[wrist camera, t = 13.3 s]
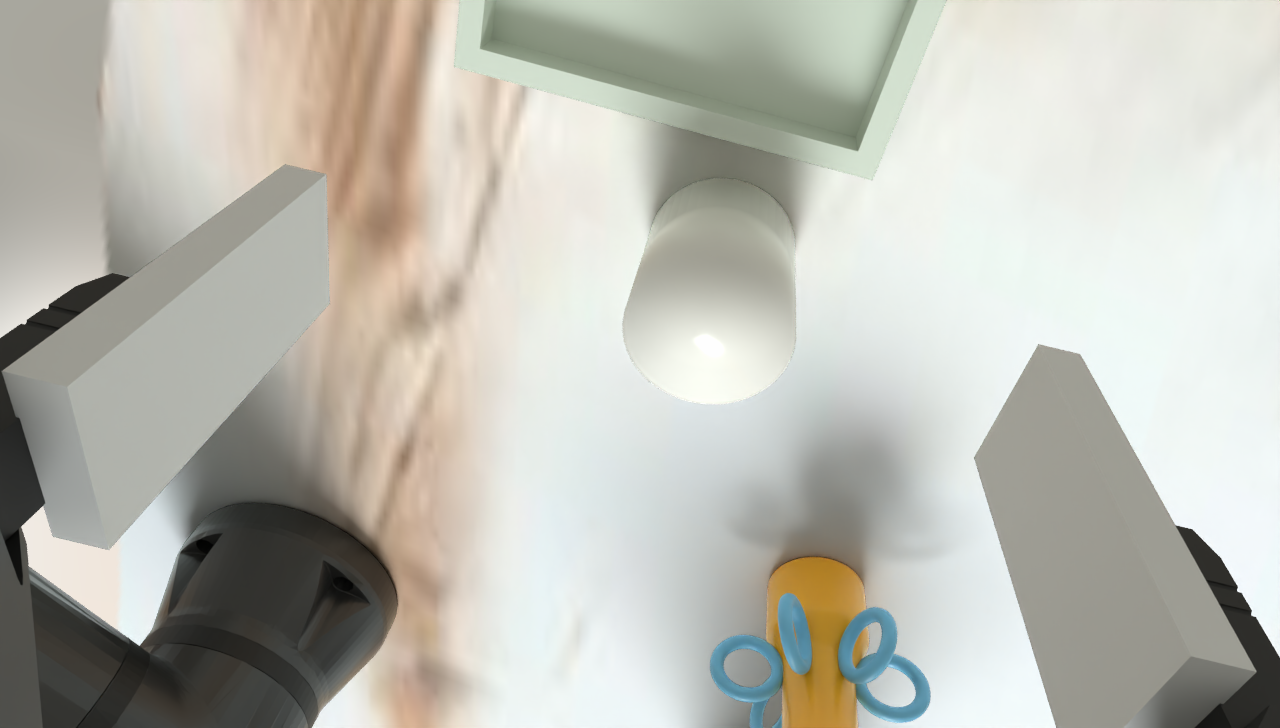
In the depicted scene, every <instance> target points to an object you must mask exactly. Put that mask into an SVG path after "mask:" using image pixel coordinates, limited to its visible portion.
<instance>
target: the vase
mask: <svg viewBox="0 0 1280 728" xmlns="http://www.w3.org/2000/svg"><path fill="white" fill-rule="evenodd" d="M873 622H878V623H880V625H881V628H882V638H881V643H880V646H879V649H878V651H877V653H874V654H870V655H868V656H866V654H867V651H868V647H869V630H868V625H869V624H871V623H873ZM896 643H897V627H896V623H895V621H894V619H893V617H892V615H891V614H890V613H889V612H888V611H886V610H884V609H882V608H878V607H873V608H868V609H866V599H865V590H864V586H863V583H862V581H861V579H860V578H859V576H858V575H857V574H856V573H855V572H854V571H853V570H852V569H851V568H849V567H848V566H847V565H845V564H842V563H841V562H839V561H835V560H832V559H829V558H823V557H804V558H799V559H795V560H792V561H789V562H787V563H785V564H783V565H782V566H780V567H779V568H778V569H777V570H776V571H775V572H774V573H773V575H772V576H771V578H770V580H769V582H768V587H767V614H766V641H765V640H763V639H761V638H758V637H755V636H751V635H737V636H733V637H730V638H728V639H726V640H724V641H722V642H721V643H720V644H719V645H718V646H717V647H716V648H715V650H714V652H713V654H712V656H711V660H710V671H711V675H712V678H713V680H714V682H715V684H716V685H717V686H718V688H719V689H720V690H721V691H722V692H724V693H725V694H726V695H728V696H729V697H731V698H733V699H735V700H738V701H742V702H753V704H752V708H751V712H750V728H763V713H764V709H765V706H766V704H767V702H768V700H769V698H770V697H772V696H773V695H774V694H776V693H777V692H778V690H779V689H780V688H781V686H782V714H781V716H780V718H779V720H778V721H777V722H776V724H775V725H774V726H773V727H772V728H858V714H857V699H858V700H859V702H860V703H861V704H862V705H863V706H864V707H865V708H866V709H867V710H868V711H869V712H870V713H872V714H873V715H875V716H877V717H879V718H881V719H883V720H886V721H890V722H896V723H903V722H909V721H913V720H915V719H917V718H919V717H920V716H921V715H922V714H923V713H924V712H925V711H926V709H927V708H928V705H929V702H930V687H929V684H928V682H927V679H926V678H925V676H924V674H923V673H922V672H921V670H920V669H919V668H918V667H917V666H916V665H914V664H913V663H912V662H910V661H909V660H907V659H906V658H904V657H901V656H899V655H896V654H894V651H895V648H896ZM738 649H751V650H754V651H757V652H759V653H760V654H762V655H763V656H764V657H765V658H766V659H767V660H768V662H769V663H770V666H771V675H770V677H769V678H768V679H767V680H766V681H765V682H764V683H763V685H761V686H758V687H752V688H749V687H743V686H740V685H737V684H735V683H734V682H732V681H731V680H730V679H729V678H728V677H727V675H726V673H725V671H724V666H723V665H724V660H725V658H726V657H727V655H728V654H730V653H731V652H733V651H735V650H738ZM865 656H866V657H865ZM886 667H891V668H894V669H897V670H899V671H901V672H903V673H904V674H905V675H907V676H908V677H909V678H910V680H911V681H912V682H913V684H914V686H915V690H916V696H915V699H914V701H913V702H912V703H911V704H909V705H907V706H904V707H891V706H888V705H885V704H883V703H881V702H879V701H878V700H877V699H875V698H874V697H873V696H872V694H871V693H870V692H869V690H868V688H867V685H866V683H869V682H871V681H873V680H874V679H876V678H877V677H878V676H879V675H880V674H881V673H882V672H883V671H884V670H885V669H886ZM856 697H857V699H856Z"/></svg>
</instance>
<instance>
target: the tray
mask: <svg viewBox="0 0 1280 728" xmlns="http://www.w3.org/2000/svg"><path fill="white" fill-rule="evenodd" d="M946 1H947V0H460V3H459V14H458V26H457V37H456V49H455V61H454V67H456V68H460V69H464V70H467V71H471V72H475V73H478V74H482V75H486V76H489V77H493V78H497V79H501V80H504V81H508V82H512V83H515V84H519V85H523V86H526V87H530V88H534V89H537V90H541V91H545V92H548V93H552V94H556V95H559V96H563V97H567V98H571V99H574V100H578V101H582V102H585V103H589V104H593V105H596V106H600V107H604V108H607V109H611V110H615V111H618V112H622V113H626V114H629V115H633V116H637V117H641V118H644V119H648V120H652V121H655V122H659V123H663V124H666V125H670V126H674V127H677V128H681V129H685V130H688V131H692V132H696V133H699V134H703V135H707V136H711V137H714V138H718V139H722V140H725V141H729V142H733V143H736V144H740V145H744V146H747V147H751V148H755V149H758V150H762V151H766V152H769V153H773V154H777V155H781V156H784V157H788V158H792V159H795V160H799V161H803V162H806V163H810V164H814V165H817V166H821V167H825V168H828V169H832V170H836V171H839V172H843V173H847V174H851V175H854V176H858V177H862V178H865V179H869V180H873V178H874V176H875V173H876V171H877V168H878V166H879V163H880V161H881V159H882V156H883V154H884V151H885V149H886V146H887V144H888V142H889V139H890V137H891V134H892V132H893V130H894V127H895V125H896V122H897V120H898V117H899V115H900V113H901V110H902V108H903V105H904V103H905V100H906V98H907V96H908V93H909V91H910V88H911V86H912V83H913V81H914V79H915V76H916V74H917V71H918V69H919V66H920V64H921V62H922V59H923V57H924V54H925V52H926V49H927V47H928V45H929V42H930V40H931V37H932V35H933V32H934V30H935V28H936V25H937V23H938V20H939V18H940V15H941V13H942V11H943V8H944V6H945V3H946Z"/></svg>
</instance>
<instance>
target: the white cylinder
mask: <svg viewBox="0 0 1280 728" xmlns="http://www.w3.org/2000/svg"><path fill="white" fill-rule="evenodd" d="M623 338H624V343H625V346H626V350H627V352H628V354H629V357H630V359H631V360H632V362H633V364H634V365H635V367H636V368H637V369H638V371H639V372H640V373H641V374H642V375H643V376H644V377H645V378H646V379H647V380H648V381H649V382H650V383H652V384H653V385H654V386H656V387H657V388H658V389H660V390H662V391H664V392H665V393H667V394H669V395H671V396H674V397H676V398H679V399H682V400H685V401H689V402H693V403H699V404H728V403H733V402H738V401H741V400H744V399H747V398H750V397H752V396H754V395H756V394H758V393H760V392H762V391H763V390H765V389H766V388H768V387H769V386H770V385H771V384H773V383H774V382H775V381H776V380H777V379H778V378H779V377H780V376H781V375H782V373H783V372H784V370H785V369H786V367H787V366H788V364H789V362H790V360H791V358H792V355H793V352H794V348H795V342H796V287H795V237H794V231H793V228H792V225H791V222H790V220H789V218H788V216H787V214H786V212H785V211H784V209H783V208H782V206H781V205H780V204H779V203H778V202H777V201H776V200H775V199H774V198H773V197H772V196H771V195H770V194H768V193H767V192H765V191H764V190H762V189H761V188H759V187H757V186H755V185H753V184H750V183H747V182H744V181H741V180H736V179H730V178H712V179H706V180H701V181H698V182H695V183H692V184H690V185H688V186H685V187H683V188H682V189H680V190H679V191H677V192H676V193H674V194H673V195H672V196H671V197H670V198H669V199H668V200H667V201H666V202H665V203H664V204H663V205H662V207H661V208H660V210H659V211H658V213H657V215H656V217H655V219H654V221H653V224H652V227H651V230H650V234H649V237H648V240H647V243H646V246H645V249H644V252H643V255H642V258H641V262H640V265H639V268H638V271H637V274H636V277H635V280H634V283H633V287H632V290H631V293H630V296H629V299H628V302H627V305H626V308H625V312H624V317H623Z"/></svg>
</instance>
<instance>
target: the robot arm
mask: <svg viewBox="0 0 1280 728" xmlns="http://www.w3.org/2000/svg"><path fill="white" fill-rule="evenodd" d="M329 304H330V296H329V257H328V218H327V180H326V174H323V173H319V172H315V171H311V170H307V169H302V168H298V167H294V166H290V165H286V164H285V165H283V166H282V167H281V168H279V169H278V170H276V171H275V172H274V173H272V174H271V175H270V176H268V177H267V178H265V179H264V180H263V181H261V182H260V183H259V184H257V185H256V186H254V187H253V188H252V189H250V190H249V191H248V192H246V193H245V194H244V195H242V196H241V197H239V198H238V199H237V200H235V201H234V202H233V203H231V204H230V205H228V206H227V207H226V208H224V209H223V210H222V211H220V212H219V213H218V214H216V215H215V216H213V217H212V218H211V219H209V220H208V221H207V222H205V223H204V224H202V225H201V226H200V227H198V228H197V229H196V230H194V231H193V232H192V233H190V234H189V235H187V236H186V237H185V238H183V239H182V240H181V241H179V242H178V243H176V244H175V245H174V246H172V247H171V248H170V249H168V250H167V251H166V252H164V253H163V254H161V255H160V256H159V257H157V258H156V259H155V260H153V261H152V262H150V263H149V264H148V265H146V266H145V267H144V268H142V269H141V270H140V271H138V272H137V273H135V274H134V275H133V276H131V277H126V276H122V275H118V274H113V273H112V274H109V275H106V276H104V277H101V278H98V279H95V280H92V281H90V282H87V283H84V284H81V285H78V286H76V287H74V288H73V289H71V290H70V291H68V292H67V293H65V294H64V295H62V296H61V297H60V298H58V299H57V300H55V301H54V302H52V303H51V304H49V308H48V309H42V310H41V311H39V312H38V313H36V314H35V315H33V316H32V317H31V318H29V319H28V320H27V323H26V324H25V325H24V324H20V325H19V326H17V327H16V328H14V329H13V330H11V331H10V332H9V333H7V334H6V335H4V336H3V337H1V338H0V728H312V726H313V724H314V722H315V721H316V719H317V717H318V715H319V713H320V711H321V710H322V709H323V708H324V707H325V706H326V704H327V703H328V702H329V701H330V700H331V699H332V698H333V697H334V696H335V695H336V694H337V693H338V692H339V691H340V690H341V689H342V688H343V687H344V686H345V685H346V684H347V683H348V682H349V681H350V680H351V679H352V678H353V677H354V676H355V675H356V674H357V673H358V672H359V671H360V670H361V669H362V668H363V667H364V666H365V665H366V664H367V663H368V662H369V661H370V660H371V659H372V658H373V657H374V656H375V654H376V653H377V652H378V650H379V649H380V648H381V646H382V644H383V643H384V641H385V639H386V636H387V634H388V632H389V630H390V628H391V626H392V624H393V622H394V619H395V617H396V612H397V598H396V593H395V590H394V587H393V584H392V582H391V580H390V578H389V576H388V574H387V573H386V571H385V570H384V568H383V567H382V565H381V564H380V563H379V562H378V560H377V559H376V558H375V557H374V556H373V555H372V554H371V553H370V552H369V551H368V550H367V549H366V548H365V547H364V546H363V545H361V544H360V543H359V542H358V541H356V540H355V539H354V538H353V537H351V536H350V535H348V534H347V533H345V532H344V531H342V530H341V529H339V528H337V527H335V526H334V525H332V524H330V523H328V522H326V521H324V520H322V519H320V518H317V517H315V516H313V515H310V514H307V513H305V512H302V511H299V510H295V509H292V508H288V507H283V506H278V505H272V504H262V503H245V504H237V505H232V506H228V507H224V508H222V509H219V510H217V511H215V512H213V513H211V514H210V515H208V516H207V517H206V518H205V519H204V520H203V521H202V522H201V523H200V524H199V526H198V527H197V528H196V529H195V531H194V532H193V533H192V534H191V535H190V537H189V538H188V539H187V540H186V542H185V543H184V544H183V546H182V548H181V549H180V551H179V553H178V555H177V558H176V561H175V564H174V566H173V569H172V572H171V575H170V578H169V581H168V584H167V587H166V590H165V593H164V596H163V599H162V602H161V605H160V608H159V611H158V614H157V617H156V620H155V623H154V626H153V628H152V630H151V632H150V633H149V634H148V636H147V637H146V639H145V640H144V641H143V642H142V644H141V645H140V646H139V645H137V644H136V643H134V642H133V641H131V640H130V639H129V638H127V637H126V636H125V635H123V634H122V633H120V632H119V631H118V630H116V629H115V628H113V627H112V626H110V625H109V624H108V623H106V622H105V621H103V620H102V619H101V618H99V617H98V616H96V615H95V614H94V613H92V612H91V611H90V610H88V609H87V608H85V607H84V606H83V605H81V604H80V603H79V602H77V601H76V600H74V599H73V598H72V597H70V596H69V595H67V594H66V593H65V592H63V591H62V590H61V589H59V588H58V587H56V586H55V585H54V584H52V583H51V582H50V581H48V580H47V579H45V578H44V577H43V576H41V575H40V574H38V573H37V572H36V571H34V570H33V569H32V568H30V567H29V566H28V555H27V544H26V541H25V537H24V534H23V532H22V528H21V526H22V525H23V524H24V523H25V522H26V521H27V520H28V519H29V518H31V517H32V516H33V515H34V514H35V513H36V512H37V511H38V510H39V509H40V508H41V507H42V506H44V510H45V512H46V515H47V519H48V522H49V526H50V529H51V532H52V536H53V537H57V538H61V539H65V540H69V541H73V542H77V543H82V544H86V545H90V546H94V547H98V548H102V549H107V550H109V549H110V548H111V547H112V546H113V545H114V544H115V543H116V542H117V541H118V539H119V538H120V537H121V536H122V535H123V534H124V533H125V532H126V530H127V529H128V528H129V527H130V526H131V525H132V524H133V523H134V522H135V520H136V519H137V518H138V517H139V516H140V515H141V514H142V513H143V511H144V510H145V509H146V508H147V507H148V506H149V505H150V504H151V503H152V501H153V500H154V499H155V498H156V497H157V496H158V495H159V494H160V492H161V491H162V490H163V489H164V488H165V487H166V486H167V485H168V484H169V482H170V481H171V480H172V479H173V478H174V477H175V476H176V475H177V474H178V472H179V471H180V470H181V469H182V468H183V467H184V466H185V465H186V463H187V462H188V461H189V460H190V459H191V458H192V457H193V456H194V455H195V453H196V452H197V451H198V450H199V449H200V448H201V447H202V446H203V444H204V443H205V442H206V441H207V440H208V439H209V438H210V437H211V436H212V434H213V433H214V432H215V431H216V430H217V429H218V428H219V427H220V426H221V424H222V423H223V422H224V421H225V420H226V419H227V418H228V417H229V415H230V414H231V413H232V412H233V411H234V410H235V409H236V408H237V407H238V405H239V404H240V403H241V402H242V401H243V400H244V399H245V398H246V396H247V395H248V394H249V393H250V392H251V391H252V390H253V389H254V388H255V386H256V385H257V384H258V383H259V382H260V381H261V380H262V379H263V377H264V376H265V375H266V374H267V373H268V372H269V371H270V370H271V369H272V367H273V366H274V365H275V364H276V363H277V362H278V361H279V360H280V359H281V357H282V356H283V355H284V354H285V353H286V352H287V351H288V350H289V348H290V347H291V346H292V345H293V344H294V343H295V342H296V341H297V340H298V338H299V337H300V336H301V335H302V334H303V333H304V332H305V331H306V329H307V328H308V327H309V326H310V325H311V324H312V323H313V322H314V321H315V319H316V318H317V317H318V316H319V315H320V314H321V313H322V312H323V310H324V309H325V308H326V307H327V306H328V305H329ZM974 459H975V462H976V466H977V469H978V472H979V475H980V479H981V482H982V485H983V489H984V492H985V495H986V498H987V502H988V505H989V508H990V512H991V515H992V518H993V521H994V525H995V528H996V531H997V534H998V538H999V541H1000V544H1001V548H1002V551H1003V554H1004V557H1005V561H1006V564H1007V567H1008V571H1009V574H1010V577H1011V580H1012V584H1013V587H1014V590H1015V594H1016V597H1017V600H1018V603H1019V607H1020V610H1021V613H1022V616H1023V620H1024V623H1025V626H1026V630H1027V633H1028V636H1029V639H1030V643H1031V646H1032V649H1033V653H1034V656H1035V659H1036V662H1037V666H1038V669H1039V672H1040V675H1041V679H1042V682H1043V685H1044V689H1045V692H1046V695H1047V698H1048V702H1049V705H1050V708H1051V712H1052V715H1053V718H1054V721H1055V725H1056V728H1280V657H1279V656H1278V654H1277V652H1276V651H1275V649H1274V647H1273V646H1272V644H1271V642H1270V640H1269V639H1268V637H1267V635H1266V634H1265V632H1264V630H1263V629H1262V627H1261V625H1260V624H1259V622H1258V620H1257V619H1256V617H1253V616H1251V612H1252V610H1251V608H1250V607H1249V605H1248V603H1247V602H1246V600H1245V598H1244V597H1243V595H1242V593H1239V592H1237V588H1238V586H1237V585H1236V583H1235V581H1234V580H1233V578H1232V576H1231V575H1230V573H1229V571H1228V570H1227V568H1226V566H1225V564H1224V563H1223V561H1222V559H1221V558H1220V557H1219V556H1218V555H1217V554H1216V553H1215V552H1214V551H1213V550H1212V549H1211V548H1210V547H1209V546H1208V545H1207V544H1206V543H1205V542H1204V541H1203V540H1202V539H1201V538H1200V537H1199V536H1198V535H1197V534H1196V533H1195V532H1194V531H1193V530H1192V529H1188V528H1184V527H1180V526H1176V525H1175V524H1174V522H1173V520H1172V519H1171V517H1170V515H1169V513H1168V511H1167V510H1166V508H1165V506H1164V504H1163V502H1162V501H1161V499H1160V497H1159V495H1158V493H1157V492H1156V490H1155V488H1154V486H1153V484H1152V483H1151V481H1150V479H1149V477H1148V475H1147V474H1146V472H1145V470H1144V468H1143V466H1142V465H1141V463H1140V461H1139V459H1138V457H1137V456H1136V454H1135V452H1134V450H1133V448H1132V447H1131V445H1130V443H1129V441H1128V439H1127V438H1126V436H1125V434H1124V432H1123V430H1122V429H1121V427H1120V425H1119V423H1118V421H1117V420H1116V418H1115V416H1114V414H1113V412H1112V411H1111V409H1110V407H1109V405H1108V403H1107V402H1106V400H1105V398H1104V396H1103V394H1102V393H1101V391H1100V389H1099V387H1098V385H1097V384H1096V382H1095V380H1094V378H1093V376H1092V375H1091V373H1090V371H1089V369H1088V367H1087V366H1086V364H1085V362H1084V360H1083V359H1082V357H1081V355H1080V354H1077V353H1073V352H1068V351H1064V350H1060V349H1056V348H1052V347H1047V346H1043V345H1039V344H1038V346H1037V348H1036V350H1035V351H1034V353H1033V355H1032V357H1031V358H1030V360H1029V362H1028V364H1027V366H1026V367H1025V369H1024V371H1023V373H1022V374H1021V376H1020V378H1019V380H1018V381H1017V383H1016V385H1015V387H1014V388H1013V390H1012V392H1011V394H1010V395H1009V397H1008V399H1007V401H1006V402H1005V404H1004V406H1003V408H1002V410H1001V411H1000V413H999V415H998V417H997V418H996V420H995V422H994V424H993V425H992V427H991V429H990V431H989V432H988V434H987V436H986V438H985V439H984V441H983V443H982V445H981V446H980V448H979V450H978V452H977V454H976V455H975V457H974Z"/></svg>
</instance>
